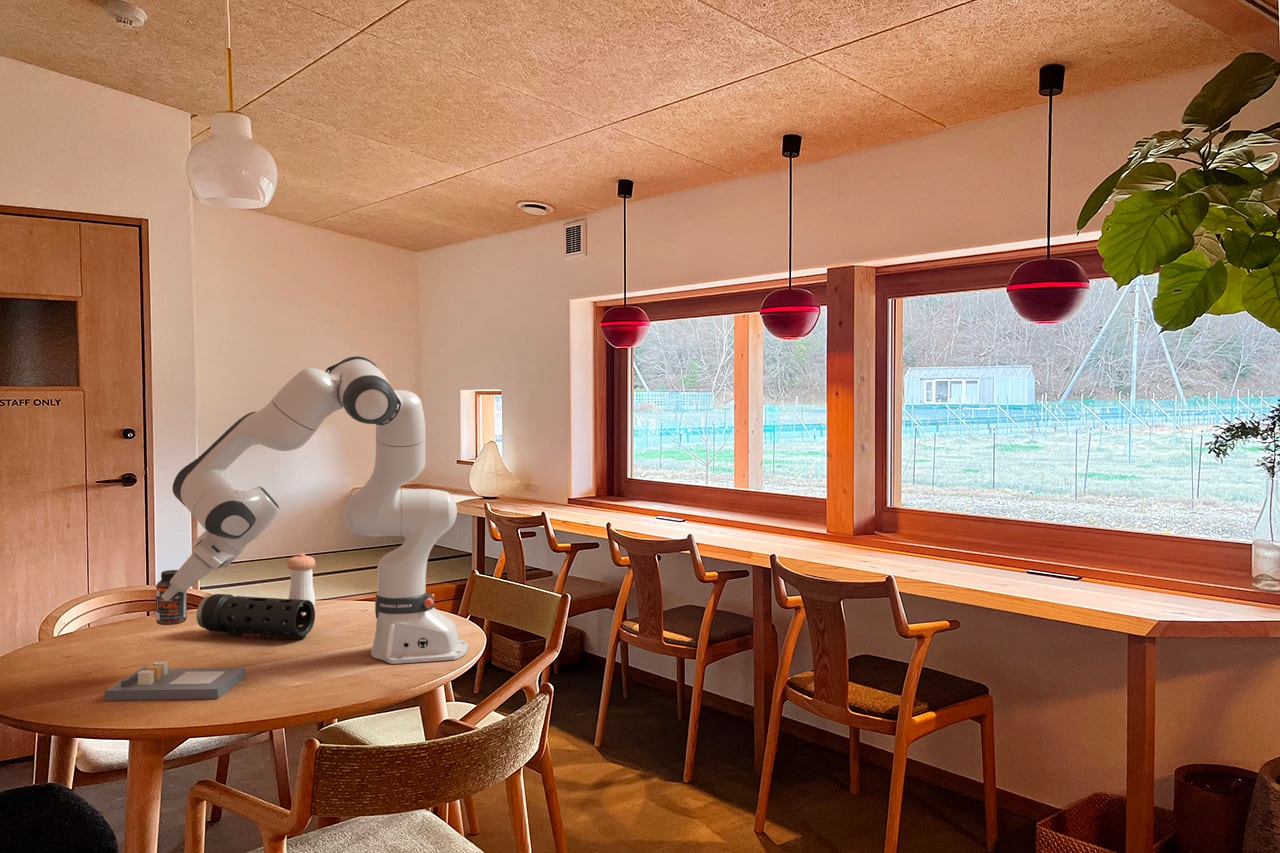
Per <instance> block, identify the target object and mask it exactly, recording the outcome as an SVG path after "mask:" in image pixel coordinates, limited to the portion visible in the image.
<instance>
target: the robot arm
mask: <svg viewBox="0 0 1280 853" xmlns="http://www.w3.org/2000/svg"><path fill="white" fill-rule="evenodd" d="M422 403H423V402H422V400H421V399H420V397H419V395H417V394H416V393H414V392H412V391H410V390H407V389H393V387H392V386H391V384H390V382H389V380H388V379H387V376H386V375H385V373H383V371H382V370H380V369H379V367H378V366H377V365H376V364H375V363H374V362H373V361H371V360H370V359H368V358H367V357H363V356H360V355H359V356H356V355H355V356H350V357H347V358H344V359H342V360H341V361H339V362H338V363H336V364H333V365H330V366H329V367H327V368H326V370H322V369H319V368H318V367H306V368H303V369H301V370H300V371H299V372H298V373H296V374H295V375H294V376H293V377H292V378H291V379H289V381H288V382H286V384H284V386H282V388H280V389H279V391H278V392H277V393H276V394H275V395H274V397H273V398H272V399H271V400H270V402H269V403H267V404H266V405H265V406H264V407H263V408H262V409H259V410H258V411H251V412H249V413H247V414H245V415H243V416H242V417H240V419H238V420H237V421H236V422H234V423H233V424H232V425H230V427H229V428H228V429H227V430H225V432H224V433H223V434H221V436H220V437H219V438H218V439H216V440H215V441H214V442H213V443H212V444H211V445H210V446H209V447H208V448H207V449H206V450H205V451H204V452H203V453H202V454H201V455H199V456H198V457H196V459H194V460H193V461H192V462H190V463H188V464H187V465H186V466H184V467H183V468H182V469H181V470H180V471H179V472H178V473H177V474H176V476H175V478H174V480H173V483H172V493H173V496H174V497H175V498H176V499H177V500H178V501H179V502H180V503H181V504H183V506H184V507H186V508H187V510H188V512H190V514H191V515H192V516H193V518H194V519H195V520H196V521H197V522H198V523H199V524H200V525H201V527H202V528H203V529H204V532H202V533H201V535H199V536H198V537H197V538H196V540H194V548H192V553H191V555H190V556H189V557H188V558H187V560H186V561H185V562H184V563H183V564H182V565H181V566H180V568H178V569H177V570H178V571H177V572H176V574H175V575H174V576H173V577H172V579H171V580H170V584H171V586H170V587H169V588H168V589H167V590H166V591H165V592H164V593H163V594H162V596H161V597H162V598H163V599H164V600H165V601H169V600H170V599H171V598H172V597H173V596H174V595H175V594H176V593H178V592H179V591H180V592H184V591H186V590H187V591H188V589H190V588H191V587H193V586H194V585H195V584H197V582H199V581H200V580H202V579H203V578H204V577H205V576H206V575H208V574H209V573H211V572H212V571H216V570H218V569H220V568H227V567H228V566H229V565H230V564H231V563H232V562H233V561H234V560H236V559H237V558H238V557H239V556H240V555H241V554H242V553H243V552H244V551H245V549H246V547H247V546H248V545H249V544H250V543H251V542H252V541H254V540H255V539H257V538H258V537H259V536H261V535H262V534H263V532H264V531H265V530H267V528H268V527H269V526H270V525H271V524H272V523H273V521H274V520H275V519H276V518H277V516H278V514H279V512H280V506H279V504H278V503H277V501H275V499H273V497H272V496H271V495H270V493H269V492H267V491H266V489H265V488H264V487H262V486H261V485H259V486H255V487H253V488H252V489H249V490H240V489H239V490H238V489H234V487H232V485H231V484H230V483H229V482H228V480H227V478H226V476H225V475H226V470H227V469H228V468H229V467H230V466H231V465H232V464H233V463H234V462H235V461H236V460H237V459H238V458H239V457H240V456H242V455H243V453H244V452H246V451H247V450H248V449H249V448H250V447H252V446H256V445H261V446H262V447H265V448H269V449H272V450H275V451H279V452H280V451H281V452H289V451H294V450H297V449H300V448H301V447H303V446H304V445H306V443H307V442H308V441H309V440H310V439H311V438H312V436H314V434H315V433H316V431H317V430H318V429H319V428H320V427H321V425H322V423H323V422H324V421H325V419H326V418H328V417H329V416H330V415H332V414H333V413H335V412H336V411H339V410H341V409H343V408H344V410H345V412H346V413H347V415H348V416H350V417H351V418H352V419H353V420H355V421H356V422H359V423H362V424H368V425H375V460H374V462H375V463H374V468H373V470H372V471H373V472H372V474H371V476H370V478H369V479H368V481H367V482H366V483H365V484H364V485H363V486H362V487H361V488H360V489H359V490H357V491H356V492H355V493H352V494H351V495H350V497H348V500H347V501H346V503H345V505H344V509H343V510H344V511H343V519H344V523H345V525H346V527H347V528H348V529H349V531H351V533H352V534H353V535H360V536H365V537H394V536H396V537H399V536H400V537H401V536H402V537H404V538H405V540H404V542H403V543H402V544H401V545H400V546H399V547H397V548H395V549H393V550H391V551H389V552H387V553H386V554H385V555H383V556H382V557H381V558H380V559H379V561H378V563H377V568H376V569H377V572H376V573H377V594H375V600H374V612H375V618H376V625H375V633H374V640H373V644H372V648H371V651H370V656H371V657H372V658H374V659H378V660H381V661H385V662H386V663H388V664H391V665H395V664H396V665H397V664H411V663H412V664H413V663H425V662H426V663H427V662H440V661H451V660H452V661H453V660H458V659H460V658H462V657H463V656H465V655H466V654H467V652H468V649H469V646H468V642H467V641H466V640H463V639H460V638H459V632H458V628H457V624H456V623H455V621H453V620H452V619H451V618H450V617H448V616H446V615H445V614H444V613H442V612H441V611H439V610H438V609H437V608H435V594H434V593H432V594H431V593H429V592H428V591H426V585H427V584H426V582H427V581H426V579H427V567H428V566H427V565H428V559H429V556H430V553H431V551H432V549H433V547H434V546H435V544H436V543H437V541H438V540H439V539H440V538H441V537H442V536H443V535H444V534H445V533H447V532H448V531H450V530H451V528H452V527H453V526H454V524H455V522H456V519H457V517H458V507H457V506H458V505H457V503H456V500H455V499H454V497H453V495H452V494H450V493H449V492H448V491H446V490H441V489H431V488H406V489H405V488H403V489H402V488H400V487H402V486H403V485H405V484H406V483H409V482H410V481H412V480H414V479H416V478H417V477H419V475H421V474H422V473H423V471H424V470H425V467H426V462H427V461H426V455H427V454H426V453H427V452H426V451H427V450H426V449H427V448H426V445H427V444H426V441H427V440H426V437H427V436H426V434H427V433H426V421H425V413H424V408H423V404H422Z"/></svg>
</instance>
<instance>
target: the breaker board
mask: <svg viewBox="0 0 1280 853" xmlns="http://www.w3.org/2000/svg"><path fill="white" fill-rule="evenodd" d="M168 662H169V661H155V662H153V663H152V664H151V665H146V666H143V667H142V668H140V669H138V670H136V671H135V672H133V673H132V674H130V675H128V676H126V677H125V678H123V679H122V680H120V681H118V682H117V683H115V684H114V685H112V686H110V687H108V688H107V689H105V690H104V701H147V700H148V701H150V700H152V701H154V700H155V701H159V700H161V701H163V700H164V701H165V700H218V699H220V698H221V697H223V695H225V694H226V693H227V692H229V691H230V690H231V689H232V688H233V687H234V686H236V685H237V684H238V683H239V682H241V681H242V680H243V679H244V678H246V667H207V668H206V667H205V668H204V667H203V668H202V667H201V668H200V667H197V668H193V667H191V668H183V667H182V668H169V666H168V665H169V663H168Z"/></svg>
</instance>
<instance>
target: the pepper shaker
mask: <svg viewBox="0 0 1280 853" xmlns="http://www.w3.org/2000/svg"><path fill="white" fill-rule="evenodd" d="M315 566H316V559H315V558H314V557H312V556H309V555H306V554H305V553H298V555H297V556H292V557H290V558H289V560H288V562H287V568H288V569H289V570H290V588H289V593H288V599H299V600H309V601H311V602H312V604H313V605H314V609H315V620H314V624H313V627H314V626H316V625H317V610H316V596H315V590H314V583H313V582H314V581H313V580H314V578H313V569H314V568H315ZM301 613H302V615H303V616H305V615H306V612H301ZM301 626H302V625H299V627H301Z"/></svg>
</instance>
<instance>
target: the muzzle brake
mask: <svg viewBox="0 0 1280 853" xmlns="http://www.w3.org/2000/svg"><path fill="white" fill-rule="evenodd" d="M315 610H316V608H315V609H314V605H313V604H312V602H311V601H309V600H299V599H289V598H277V597H259V596H244V595H243V596H242V595H236V596H234V595H232V594H229V593H228V594H227V593H215V594H212V595H206V596H205V597H203V598H202V599H201V601H200V602H199V604H198V606H197V609H196V615H195V616H196V617H195V618H196V622H197V624H198V625H199V627H200V628H202V629H205V630H206V631H208V632H210V633H214V632H215V633H226V635H227V636H232V637H240V636H242V635H246V634H248V635H258V636H259V638H262V637H269V638H271V639H272V638H273V639H274V638H275V639H285V640H286V639H289V640H304V639H305V638H306V637H307V635H308V634H309V633H310V632H311V630H312V629H313V627H314V626H313V624H314V620H315ZM301 612H306V615H305V616H303V615H302V613H301ZM299 625H302V626H301V627H299Z"/></svg>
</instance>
